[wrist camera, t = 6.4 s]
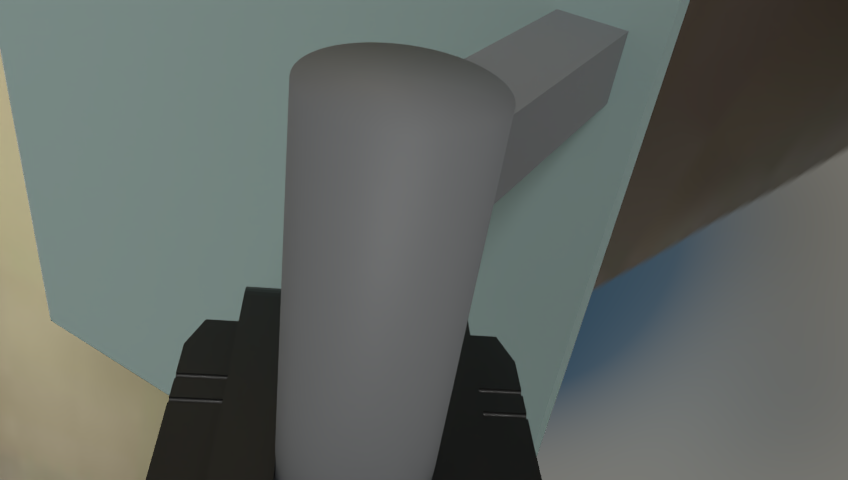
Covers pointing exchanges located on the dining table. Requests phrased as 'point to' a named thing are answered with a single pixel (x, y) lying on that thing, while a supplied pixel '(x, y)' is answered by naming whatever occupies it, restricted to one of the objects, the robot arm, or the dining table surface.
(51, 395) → the dining table surface
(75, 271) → the door
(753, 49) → the dining table surface
